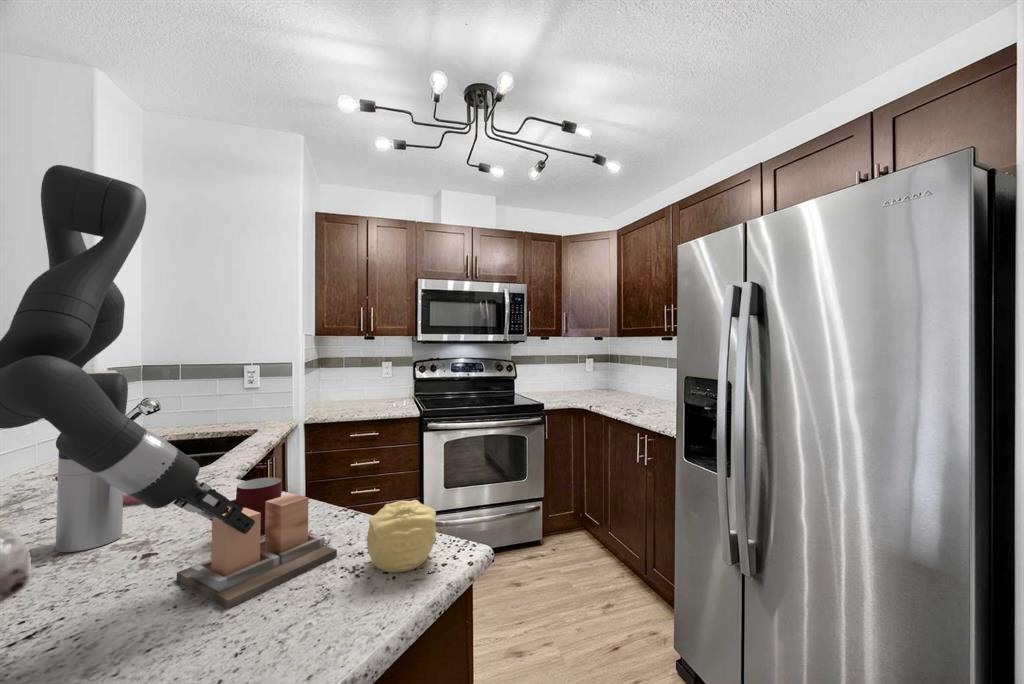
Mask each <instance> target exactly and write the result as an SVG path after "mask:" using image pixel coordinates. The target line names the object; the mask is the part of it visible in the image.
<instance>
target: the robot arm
mask: <svg viewBox="0 0 1024 684" xmlns="http://www.w3.org/2000/svg"><path fill="white" fill-rule="evenodd" d="M40 204H41V205H40V207H41V208H40V209H41V214H42V222H43V223H42V224H43V229H44V235H45V241H46V249H47V255H48V257H47V258H48V269H47V270H46V271H44V272H43V273H41V274H40V275H39V276H38V277H36V278H35V279H34V280H33V281H32V282H31V283H30V284H29V286H28V287H27V288H26V290H25V292H24V294H23V296H22V298H21V300H20V302H19V304H18V306H17V308H16V310H15V313H14V315H13V317H12V320H11V321H10V322H11V323H10V325H9V328H8V330H7V331H6V333H5V334H4V336H3V337H2V338H1V339H0V429H6V430H7V429H15V428H19V427H20V428H21V427H24V426H27V425H30V424H33V423H35V422H38V421H40V420H42V419H43V420H45V421H46V422H48V423H50V425H52V426H53V427H54V428H55V429H56V430H57V431H58V432H60V434H59V435H58V436H57V437H56V439H55V440H56V441H55V447H56V448H57V450H58V459H57V460H58V464H57V466H58V467H57V468H58V469H57V494H56V495H57V497H56V521H55V523H56V527H55V528H56V529H55V551H56V552H58V553H72V552H74V553H75V552H81V551H86V550H87V551H88V550H91V549H95V548H98V547H101V546H105V545H108V544H110V543H112V542H115V541H116V540H118V539H120V538H122V536H123V516H124V503H123V492H124V493H126V494H127V495H129V496H131V497H133V498H135V499H136V500H138V501H140V502H142V503H141V504H144V505H145V506H147V507H148V508H150V509H162V508H165V507H166V506H169V505H170V504H172V505H175V506H176V507H178V508H180V509H183V510H185V511H187V512H189V513H190V512H191V513H194V514H195V513H196V514H198V515H200V516H202V517H204V518H205V519H208V520H209V521H211V522H212V518H216V519H218V520H220V521H221V522H222V523H223V524H227V525H229V526H231V527H233V528H234V529H236V530H237V531H239V532H241V533H243V534H246V533H248V531H249V530H250V529H251V528H252V526H253V525H254V523H255V521H254V520H253V519H252V518H250V517H249V516H247V515H246V514H244V513H242V512H241V511H242V510H243V509H242V507H241V506H238V505H236V504H235V503H233V502H232V500H230V499H229V498H227V496H225V495H224V494H222V493H220V492H218V491H217V490H216V489H214V488H212V486H211V485H210V484H207V483H205V482H203V481H202V482H200V481H198V480H197V477H198V475H199V474H200V470H201V469H200V464H199V463H198V462H197V461H196V460H194V459H193V458H191V456H189V455H187V454H186V453H184V452H183V451H181V449H178V448H177V447H176V446H174V445H173V444H171V443H170V442H169V441H167V440H165V439H164V438H163V437H161V436H159V435H157V434H155V433H153V432H151V431H149V430H148V429H146V428H144V427H143V426H141V425H140V424H139V423H137V422H136V421H134V420H133V419H131V418H130V417H128V415H127V413H126V412H127V405H128V404H127V403H128V396H129V395H128V394H129V393H128V391H129V387H128V386H129V383H128V380H127V377H126V376H125V374H122V373H120V372H99V373H98V372H94V373H93V372H92V373H89V372H87V371H85V370H84V369H83V368H84V366H85V365H86V364H88V363H89V361H91V360H93V358H95V357H97V356H98V355H99V354H101V352H103V351H104V350H105V349H107V348H108V347H109V346H110V345H112V344H113V343H114V342H115V341H116V340H117V338H119V336H121V335H120V334H121V333H122V331H123V328H124V321H125V320H124V318H125V308H126V307H125V306H126V305H125V303H126V302H125V299H124V296H123V293H122V291H121V290H120V288H119V287H118V285H117V283H115V282H114V281H115V279H116V277H117V275H118V274H119V272H120V271H121V269H122V267H123V266H124V264H125V263H126V261H127V259H128V257H129V255H130V253H131V251H132V250H133V248H134V246H135V244H136V243H137V241H138V239H139V237H140V235H141V232H142V230H143V227H144V224H145V220H146V214H147V199H146V195H145V193H144V191H143V190H142V189H141V188H140V187H138V185H137V186H136V185H134V184H132V183H129V182H126V181H123V180H120V179H117V178H113V177H109V176H105V175H101V174H98V173H95V172H91V171H87V170H84V169H80V168H76V167H73V166H68V165H63V164H55V165H52V166H50V167H49V168H48V169H46V171H45V172H44V175H43V178H42V181H41V187H40ZM82 234H86V235H87V234H88V235H92V236H96V237H101V239H100V240H99V241H98V242H97V243H96V244H94V245H92V246H91V247H89V248H87V246H86V244H85V243H86V242H85V241H84V238H83V235H82ZM226 507H228V508H230V509H229V510H228V512H227V511H226V510H225V509H226ZM225 513H226V514H225ZM222 514H225V515H224V516H223V515H222Z"/></svg>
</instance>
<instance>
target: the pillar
mask: <svg viewBox="0 0 1024 684" xmlns="http://www.w3.org/2000/svg"><path fill="white" fill-rule="evenodd" d="M242 509H243V510H242V511H241V512H242V513H244V514H246V515H247V516H249V517H250V518H252V519H253V520H254V521H255V523H254V525H253V526H252V528H251V529H250V530H249V531H248V533H246V534H243V533H241V532H239V531H237V530H236V529H234V528H233V527H231V526H229V525H227V524H223V523H222V522H221V521H220V520H218V519H216V518H212V521H211V550H210V551H211V552H210V553H211V555H210V556H211V559H210V560H211V571H213V572H215V573H217V574H219V575H221V576H223V577H224V576H227V575H229V574H232V573H234V572H236V571H239V570H241V569H244V568H246V567H248V566H251V565H253V564H256V563H258V562H260V541H261V534H260V529H261V513H259V512H256V511H253V510H251V509H248V508H242ZM225 514H226V513H225ZM225 514H222V515H223V516H224V515H225Z"/></svg>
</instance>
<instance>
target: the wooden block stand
mask: <svg viewBox="0 0 1024 684" xmlns="http://www.w3.org/2000/svg"><path fill="white" fill-rule="evenodd" d="M325 544H326V543H325V537H324V536H323V535H318V534H316V533H312V532H309V497H307V496H304V495H300V494H296V493H289V494H285V495H283V496H282V495H281V497H279V498H275V499H272V500H269V501H265V533H264V538H263V539H262V540H261V539H260V562H258V563H256V564H253V565H251V566H248V567H246V568H244V569H241V570H239V571H236V572H234V573H232V574H229V575H227V576H224V577H223V576H221V575H219V574H217V573H215V572H213V571H211V559H208V560H206V561H202V562H201V563H197V564H195V565H192V566H190V567H187V568H185V569H182V570H179V571H177V572H176V581H177V582H179V583H181V584H182V585H185V586H186V587H188V588H190V589H192V590H193V591H195V592H197V593H199V594H200V595H203V596H204V597H206V598H208V599H210V600H211V601H212V602H214V603H216V604H218V605H220V606H221V607H223V608H225V609H227V610H229V609H231V608H232V607H233V608H234V607H235V606H238V605H239V604H241V603H243V602H245V601H247V600H249V599H252V598H254V597H256V596H258V595H260V594H262V593H265V592H266V591H268V590H270V589H272V588H274V587H277V586H278V585H280V584H283V583H285V582H286V581H289V580H291V579H293V578H295V577H298V576H299V575H302V574H303V573H306V572H308V571H310V570H312V569H314V568H316V567H319V566H320V565H322V564H324V563H327V562H329V561H331V560H333V559H335V558H337V557H338V550H337V549H336V548H333V547H330V546H327V545H325Z"/></svg>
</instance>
